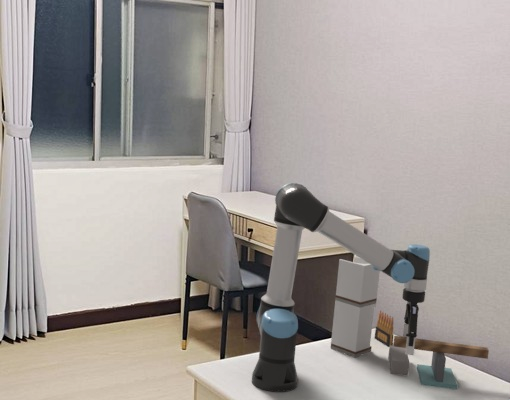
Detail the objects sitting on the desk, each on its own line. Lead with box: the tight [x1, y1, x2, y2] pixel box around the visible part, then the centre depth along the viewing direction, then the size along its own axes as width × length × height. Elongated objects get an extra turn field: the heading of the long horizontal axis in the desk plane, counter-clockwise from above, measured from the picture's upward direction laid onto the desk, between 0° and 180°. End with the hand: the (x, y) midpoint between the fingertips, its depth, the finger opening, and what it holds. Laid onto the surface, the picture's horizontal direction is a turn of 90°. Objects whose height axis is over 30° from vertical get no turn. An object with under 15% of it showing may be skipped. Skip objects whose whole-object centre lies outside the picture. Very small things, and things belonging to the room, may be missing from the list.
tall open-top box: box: [330, 256, 381, 358], centre depth 266 cm, size 11×11×35 cm
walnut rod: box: [393, 335, 490, 360], centre depth 245 cm, size 32×3×3 cm, turn 82°
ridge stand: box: [416, 352, 459, 390], centre depth 246 cm, size 12×16×10 cm
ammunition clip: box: [374, 310, 394, 348], centre depth 280 cm, size 11×2×12 cm, turn 22°
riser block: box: [387, 345, 410, 377], centre depth 254 cm, size 6×16×5 cm, turn 172°
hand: (407, 348), depth 246 cm, fingers open, 13 cm apart
